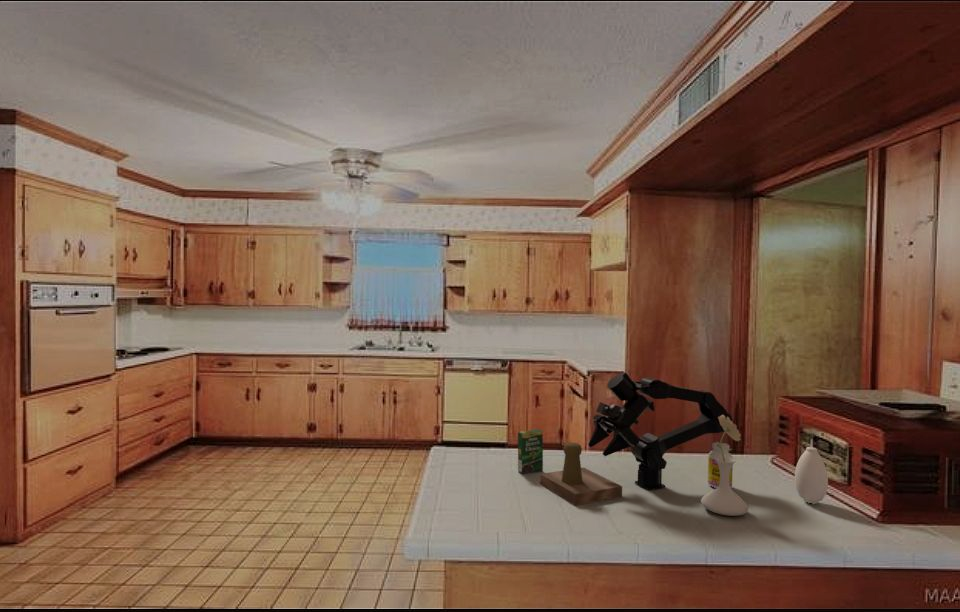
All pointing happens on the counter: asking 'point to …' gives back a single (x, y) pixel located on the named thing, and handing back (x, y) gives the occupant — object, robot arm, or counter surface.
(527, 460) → the coffee box
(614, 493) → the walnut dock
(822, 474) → the sauce bottle
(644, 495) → the counter surface
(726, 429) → the flower in vase
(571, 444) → the cork
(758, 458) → the counter surface
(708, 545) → the counter surface
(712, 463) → the supplement bottle
